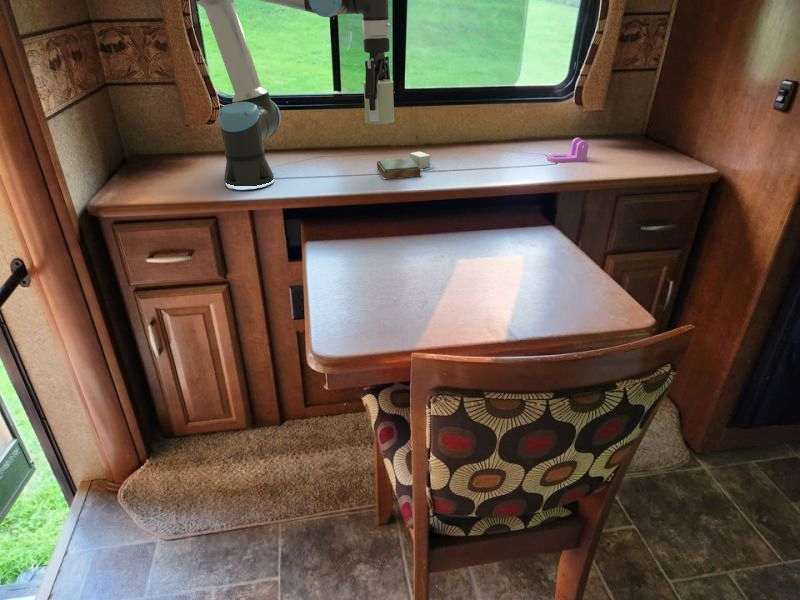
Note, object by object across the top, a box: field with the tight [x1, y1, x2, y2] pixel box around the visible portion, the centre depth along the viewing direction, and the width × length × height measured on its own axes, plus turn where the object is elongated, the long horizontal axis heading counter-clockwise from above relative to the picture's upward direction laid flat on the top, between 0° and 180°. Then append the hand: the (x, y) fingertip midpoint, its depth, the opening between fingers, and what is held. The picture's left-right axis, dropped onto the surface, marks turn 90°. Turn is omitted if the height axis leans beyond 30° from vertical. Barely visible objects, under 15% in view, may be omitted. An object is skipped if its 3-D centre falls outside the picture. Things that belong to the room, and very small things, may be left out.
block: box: [409, 151, 431, 169], centre depth 178 cm, size 4×6×4 cm, turn 32°
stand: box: [376, 157, 422, 179], centre depth 172 cm, size 12×12×3 cm
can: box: [362, 79, 395, 125], centre depth 159 cm, size 9×9×12 cm
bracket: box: [546, 137, 589, 164], centre depth 181 cm, size 13×6×7 cm, turn 97°
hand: (379, 118), depth 161 cm, fingers closed on can, 9 cm apart
